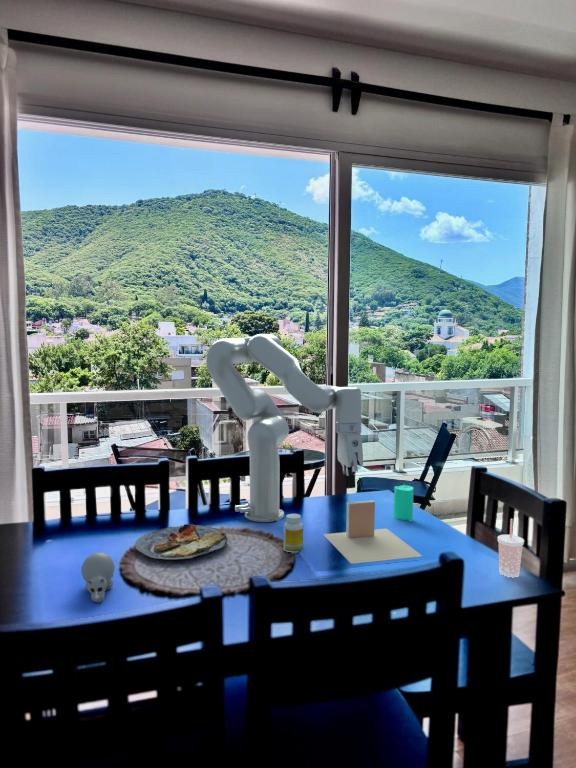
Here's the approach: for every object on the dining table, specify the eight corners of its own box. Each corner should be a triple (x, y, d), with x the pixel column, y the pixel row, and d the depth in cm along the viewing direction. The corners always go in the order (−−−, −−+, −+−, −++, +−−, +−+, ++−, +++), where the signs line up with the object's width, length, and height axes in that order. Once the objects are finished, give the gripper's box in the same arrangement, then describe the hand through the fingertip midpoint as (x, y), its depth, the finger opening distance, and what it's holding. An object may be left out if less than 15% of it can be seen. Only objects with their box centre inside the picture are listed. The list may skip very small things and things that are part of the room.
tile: (348, 538, 164) (349, 504, 163) (346, 536, 166) (346, 502, 165) (374, 536, 166) (375, 502, 165) (372, 533, 168) (372, 500, 167)
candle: (411, 517, 186) (412, 480, 185) (413, 523, 180) (414, 485, 179) (392, 516, 187) (393, 480, 186) (394, 522, 181) (395, 485, 180)
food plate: (195, 525, 176) (194, 514, 176) (244, 547, 160) (244, 534, 159) (120, 548, 159) (119, 536, 158) (166, 575, 142) (166, 561, 142)
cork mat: (351, 567, 146) (351, 563, 146) (323, 537, 167) (323, 534, 167) (422, 559, 151) (422, 556, 151) (386, 531, 172) (386, 528, 172)
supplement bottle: (280, 548, 159) (280, 514, 158) (297, 545, 161) (297, 511, 160) (288, 555, 154) (288, 520, 153) (306, 551, 156) (306, 517, 155)
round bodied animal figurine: (79, 615, 126) (76, 587, 122) (84, 574, 136) (81, 547, 132) (114, 611, 127) (111, 583, 124) (116, 571, 138) (114, 544, 134)
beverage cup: (508, 580, 139) (511, 524, 138) (490, 571, 144) (492, 516, 143) (528, 576, 141) (530, 521, 140) (509, 567, 147) (511, 513, 146)
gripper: (370, 430, 167) (370, 492, 169) (351, 423, 182) (351, 480, 183) (346, 432, 165) (346, 495, 167) (328, 425, 180) (329, 482, 181)
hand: (349, 487), depth 175 cm, fingers closed
